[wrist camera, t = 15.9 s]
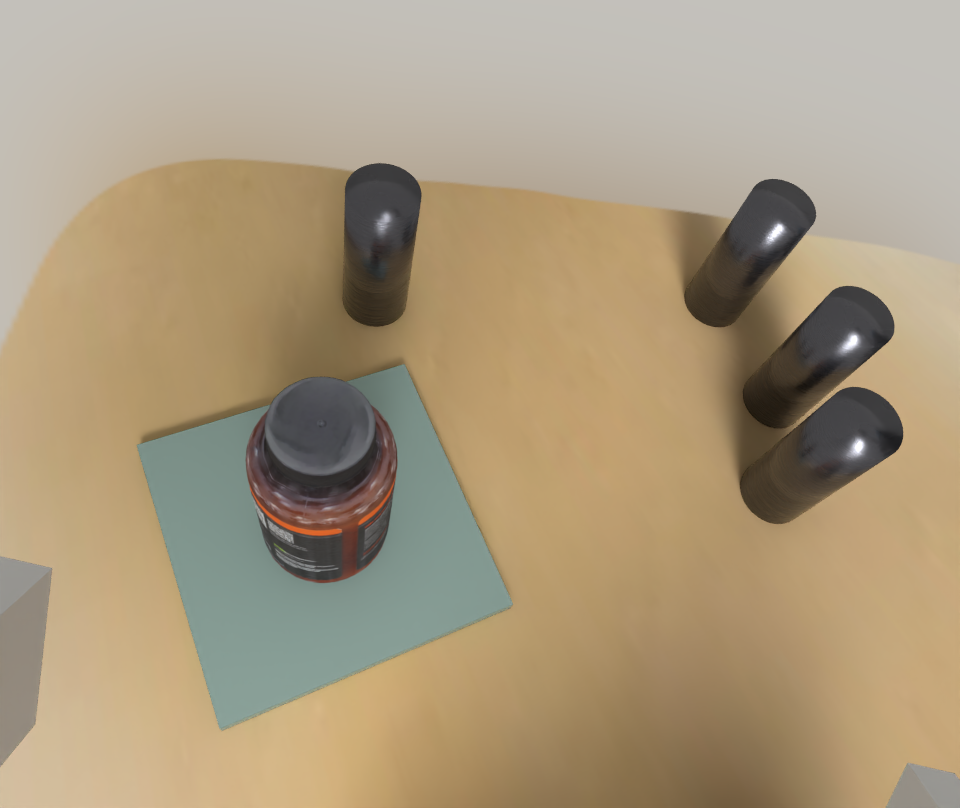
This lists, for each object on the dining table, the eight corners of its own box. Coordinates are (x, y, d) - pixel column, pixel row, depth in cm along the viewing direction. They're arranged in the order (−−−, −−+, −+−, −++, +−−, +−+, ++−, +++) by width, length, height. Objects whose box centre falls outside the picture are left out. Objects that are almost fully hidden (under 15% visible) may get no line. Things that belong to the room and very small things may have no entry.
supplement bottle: (390, 471, 41) (409, 358, 31) (384, 589, 38) (403, 505, 28) (269, 465, 40) (248, 346, 30) (254, 584, 37) (225, 496, 27)
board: (403, 371, 44) (404, 364, 44) (509, 608, 39) (513, 604, 39) (140, 451, 40) (136, 444, 39) (222, 730, 35) (219, 728, 34)
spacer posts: (670, 195, 54) (728, 87, 46) (863, 489, 46) (974, 419, 38) (334, 283, 46) (334, 172, 38) (494, 652, 38) (536, 608, 30)
